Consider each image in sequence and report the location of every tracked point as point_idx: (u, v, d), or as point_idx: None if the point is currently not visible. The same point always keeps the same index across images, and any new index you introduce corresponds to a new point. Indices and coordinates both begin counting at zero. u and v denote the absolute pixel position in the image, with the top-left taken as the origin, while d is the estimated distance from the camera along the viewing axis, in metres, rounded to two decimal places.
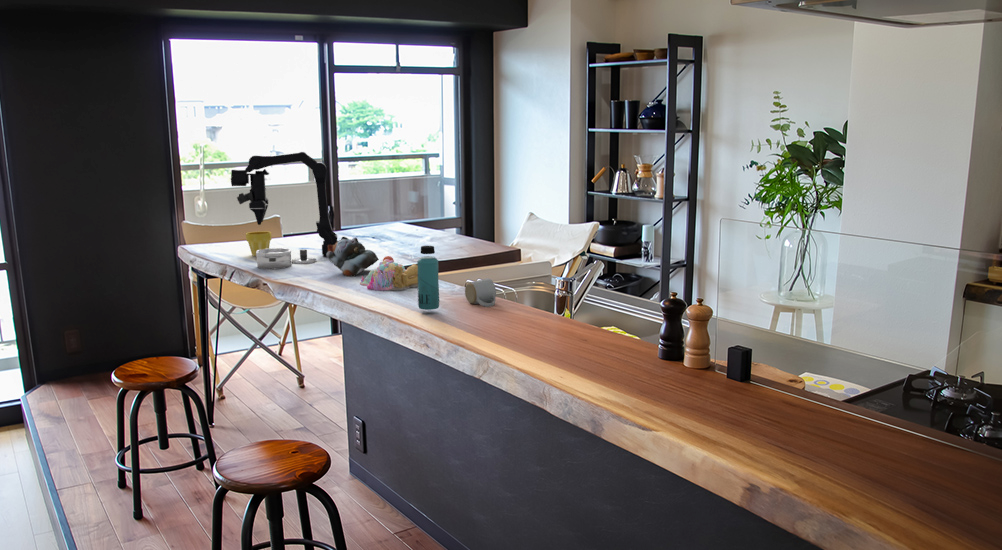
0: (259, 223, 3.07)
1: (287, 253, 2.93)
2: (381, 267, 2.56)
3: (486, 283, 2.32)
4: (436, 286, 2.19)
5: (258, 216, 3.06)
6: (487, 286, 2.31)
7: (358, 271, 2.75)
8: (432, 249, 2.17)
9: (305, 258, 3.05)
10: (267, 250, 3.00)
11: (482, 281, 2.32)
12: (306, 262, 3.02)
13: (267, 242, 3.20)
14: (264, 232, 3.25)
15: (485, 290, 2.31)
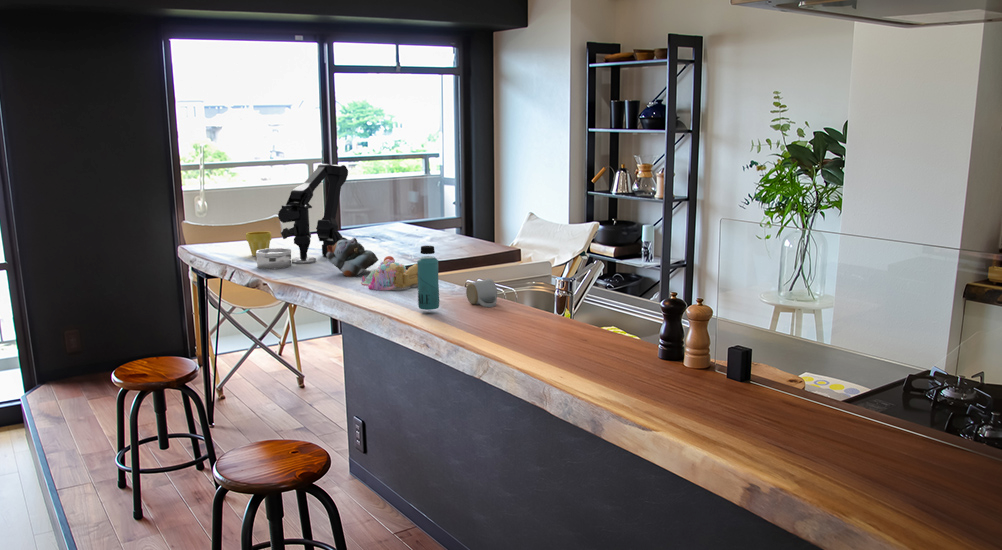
0: (303, 257, 3.04)
1: (287, 253, 2.93)
2: (382, 267, 2.56)
3: (488, 283, 2.31)
4: (436, 286, 2.19)
5: (302, 250, 3.03)
6: (488, 286, 2.31)
7: (359, 272, 2.74)
8: (432, 249, 2.17)
9: (305, 257, 3.05)
10: (267, 250, 3.00)
11: (483, 281, 2.32)
12: (306, 261, 3.02)
13: (267, 242, 3.20)
14: (264, 232, 3.25)
15: (486, 290, 2.30)
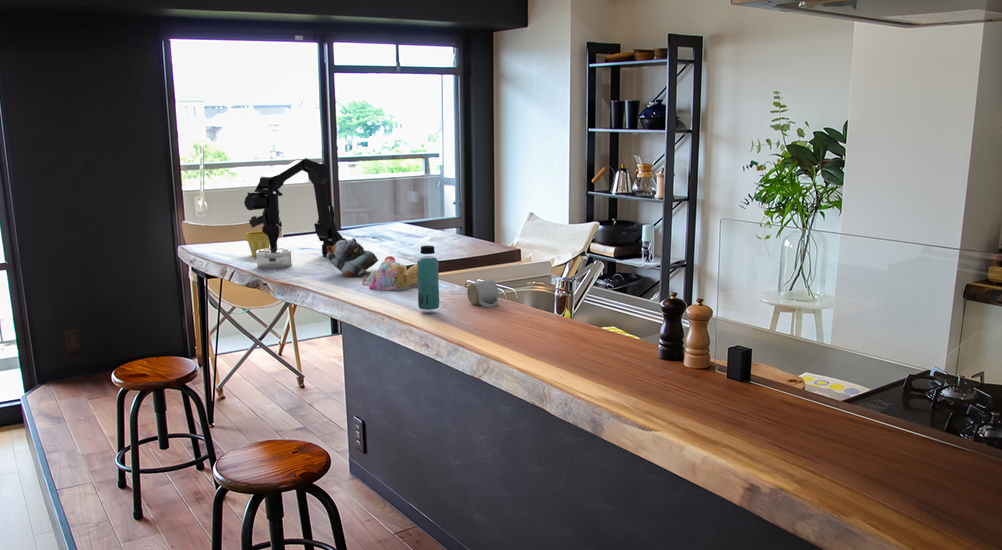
0: (273, 247, 2.92)
1: (287, 253, 2.93)
2: (383, 267, 2.56)
3: (489, 283, 2.31)
4: (436, 286, 2.19)
5: (272, 239, 2.90)
6: (489, 287, 2.30)
7: (359, 272, 2.74)
8: (432, 249, 2.17)
9: (275, 249, 2.94)
10: None
11: (484, 282, 2.31)
12: None
13: (267, 242, 3.20)
14: None
15: (487, 291, 2.29)
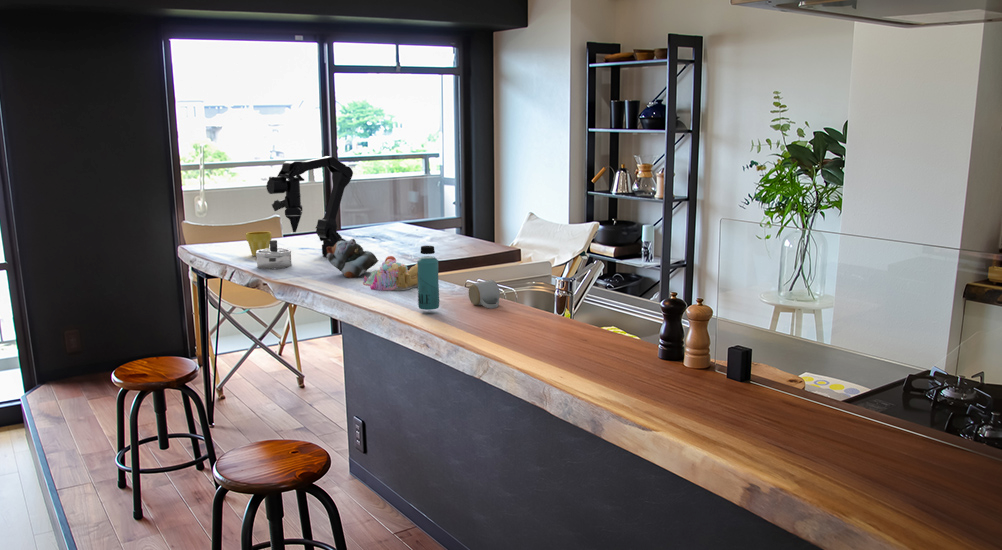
0: (294, 230, 3.01)
1: (287, 253, 2.93)
2: (384, 267, 2.56)
3: (490, 284, 2.30)
4: (436, 286, 2.19)
5: (293, 223, 3.00)
6: (490, 287, 2.29)
7: (360, 273, 2.73)
8: (432, 249, 2.17)
9: (275, 249, 2.94)
10: None
11: (486, 282, 2.30)
12: None
13: (267, 242, 3.20)
14: (264, 232, 3.25)
15: (489, 291, 2.29)
